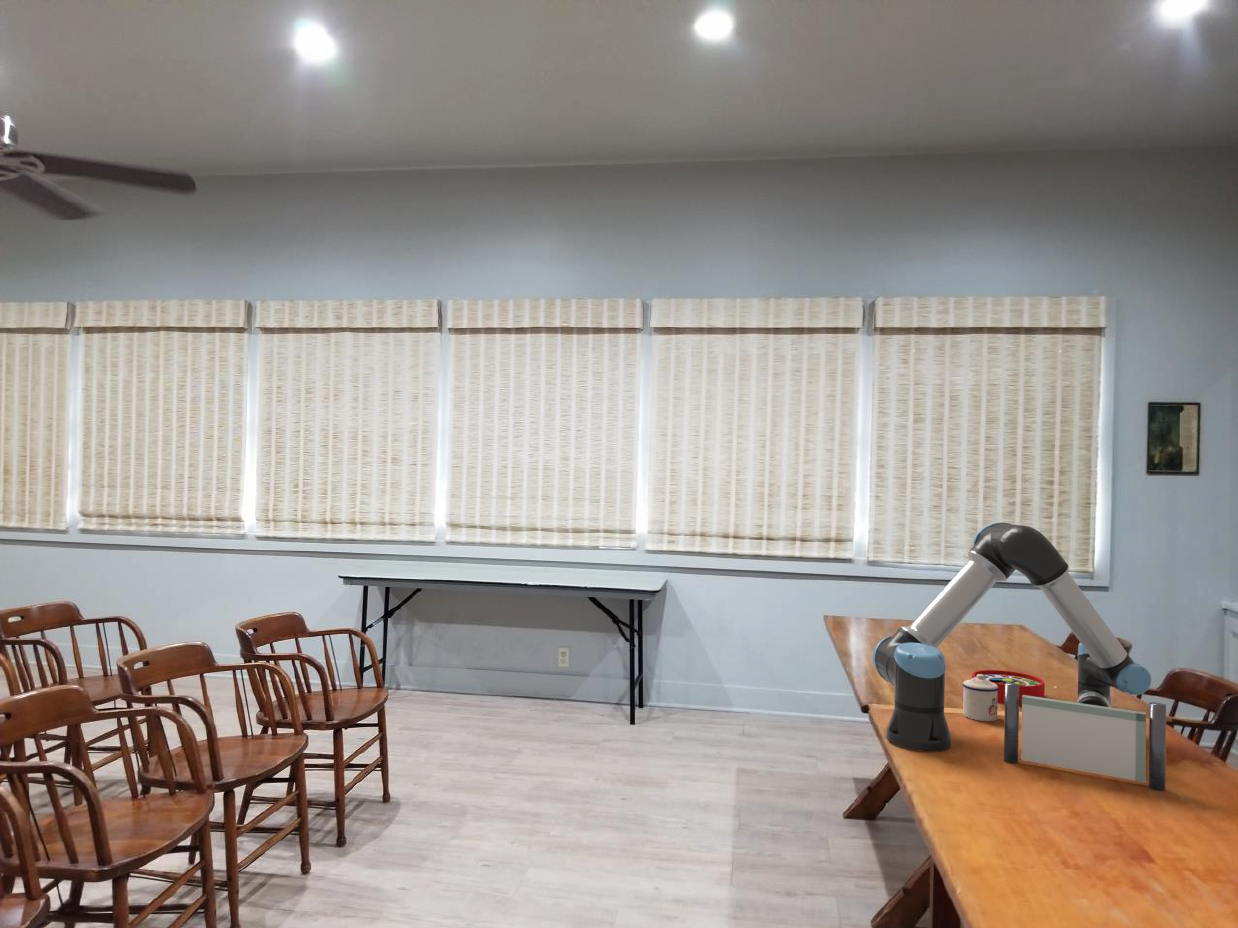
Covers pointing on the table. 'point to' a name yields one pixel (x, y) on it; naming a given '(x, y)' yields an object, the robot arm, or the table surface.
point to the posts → (1155, 736)
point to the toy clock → (1026, 682)
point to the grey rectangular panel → (1084, 737)
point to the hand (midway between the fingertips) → (1091, 734)
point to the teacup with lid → (980, 699)
